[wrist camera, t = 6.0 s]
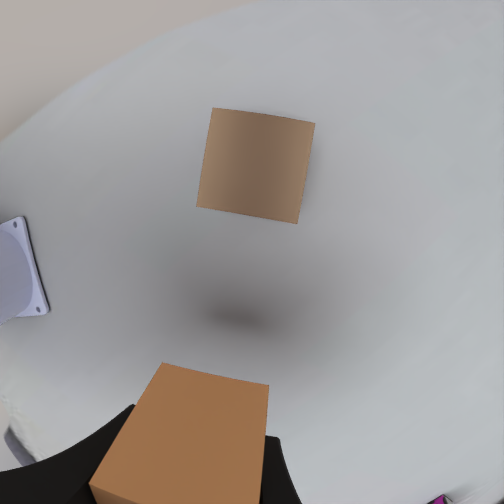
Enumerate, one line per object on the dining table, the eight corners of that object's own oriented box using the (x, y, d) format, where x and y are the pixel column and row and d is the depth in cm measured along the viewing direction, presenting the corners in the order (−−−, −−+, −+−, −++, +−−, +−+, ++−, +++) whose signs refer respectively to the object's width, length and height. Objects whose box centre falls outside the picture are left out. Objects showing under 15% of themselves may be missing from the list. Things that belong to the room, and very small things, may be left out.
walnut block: (223, 197, 18) (196, 206, 12) (234, 129, 17) (212, 107, 11) (291, 209, 18) (297, 224, 12) (303, 141, 17) (315, 123, 11)
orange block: (161, 431, 12) (113, 537, 6) (162, 362, 11) (88, 483, 5) (250, 451, 12) (233, 569, 6) (269, 385, 11) (256, 529, 5)
